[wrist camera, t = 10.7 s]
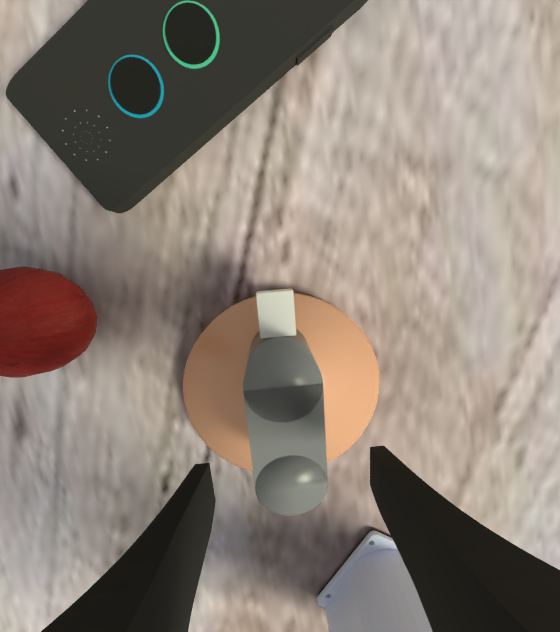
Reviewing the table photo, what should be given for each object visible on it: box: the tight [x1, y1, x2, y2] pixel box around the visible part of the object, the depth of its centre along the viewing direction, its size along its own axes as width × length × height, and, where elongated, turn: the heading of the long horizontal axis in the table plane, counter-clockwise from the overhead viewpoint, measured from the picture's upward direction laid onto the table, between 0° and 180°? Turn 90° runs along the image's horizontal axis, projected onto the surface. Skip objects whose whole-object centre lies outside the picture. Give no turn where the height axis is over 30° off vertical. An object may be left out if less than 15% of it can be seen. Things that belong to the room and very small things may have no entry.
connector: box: [243, 288, 328, 516], centre depth 16 cm, size 12×4×5 cm, turn 5°
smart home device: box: [6, 0, 368, 213], centre depth 14 cm, size 8×2×20 cm
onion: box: [0, 267, 97, 377], centre depth 14 cm, size 6×6×8 cm
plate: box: [183, 293, 379, 471], centre depth 19 cm, size 14×14×1 cm
